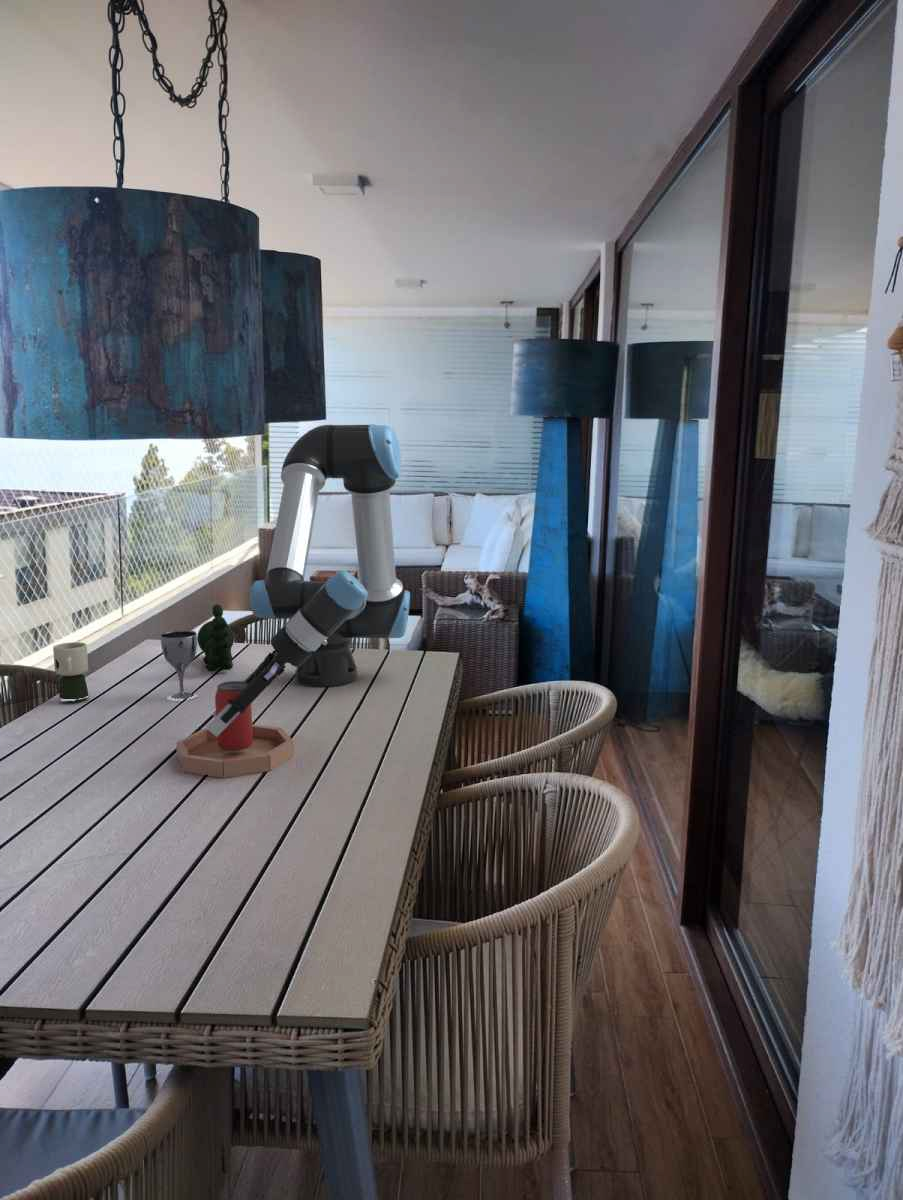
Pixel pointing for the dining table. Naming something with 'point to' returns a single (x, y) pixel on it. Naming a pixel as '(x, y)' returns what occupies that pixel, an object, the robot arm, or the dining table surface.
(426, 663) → the dining table surface
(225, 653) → the toy figurine
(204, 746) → the terracotta saucer
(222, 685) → the beer can
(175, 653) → the wine glass
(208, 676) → the dining table surface
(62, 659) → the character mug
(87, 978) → the dining table surface
